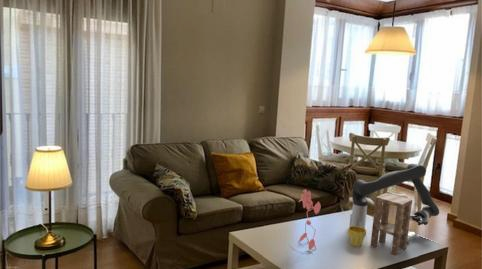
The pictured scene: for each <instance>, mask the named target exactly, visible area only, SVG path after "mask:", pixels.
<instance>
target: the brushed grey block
mask: <svg viewBox="0 0 482 269" xmlns="http://www.w3.org/2000/svg"><path fill="white" fill-rule="evenodd" d="M417 235H418V234H417V232H414V231H410V232H408V237H407V245H406V246H408V245H409V244H410V242H411V241H412V240H413V239H415V238H417V237H418V236H417Z"/></svg>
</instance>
